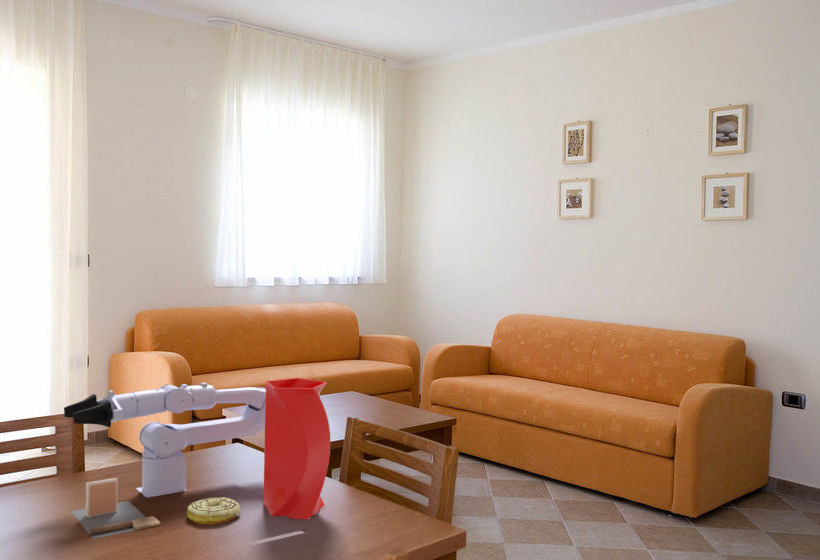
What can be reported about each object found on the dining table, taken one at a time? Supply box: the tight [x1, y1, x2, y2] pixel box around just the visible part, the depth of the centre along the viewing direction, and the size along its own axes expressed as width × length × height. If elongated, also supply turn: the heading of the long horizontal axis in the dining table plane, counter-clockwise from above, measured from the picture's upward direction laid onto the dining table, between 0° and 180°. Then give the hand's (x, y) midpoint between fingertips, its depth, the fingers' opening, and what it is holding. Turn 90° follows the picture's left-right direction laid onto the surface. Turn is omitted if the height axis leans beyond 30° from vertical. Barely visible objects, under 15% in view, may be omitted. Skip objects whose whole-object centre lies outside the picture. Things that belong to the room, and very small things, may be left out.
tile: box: [85, 477, 119, 517], centre depth 155 cm, size 6×2×7 cm, turn 128°
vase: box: [262, 377, 331, 520], centre depth 162 cm, size 15×14×28 cm
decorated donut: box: [186, 496, 241, 526], centre depth 156 cm, size 10×11×4 cm
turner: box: [88, 515, 161, 536], centre depth 148 cm, size 13×4×1 cm, turn 128°
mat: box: [70, 500, 155, 540], centre depth 153 cm, size 12×18×1 cm, turn 38°
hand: (69, 415), depth 159 cm, fingers open, 7 cm apart
